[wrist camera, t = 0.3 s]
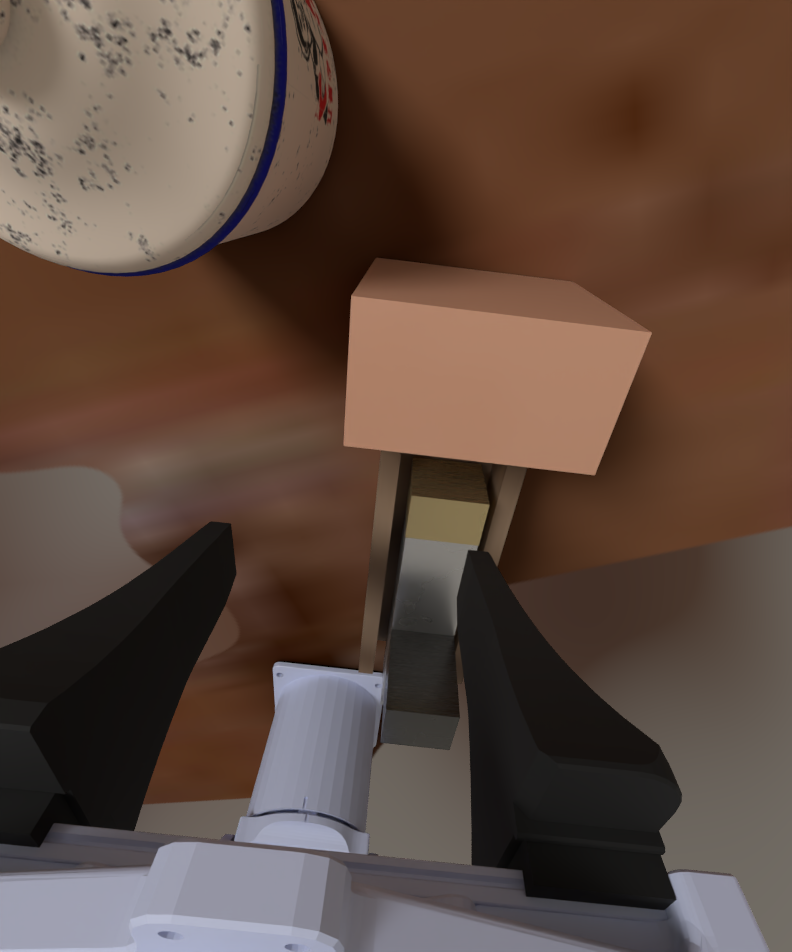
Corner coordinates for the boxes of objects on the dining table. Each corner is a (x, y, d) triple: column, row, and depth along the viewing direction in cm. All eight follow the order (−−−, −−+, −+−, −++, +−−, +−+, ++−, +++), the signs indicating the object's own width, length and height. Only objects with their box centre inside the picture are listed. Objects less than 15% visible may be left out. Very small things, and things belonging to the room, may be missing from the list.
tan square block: (542, 386, 21) (594, 475, 15) (367, 365, 21) (343, 445, 14) (573, 281, 19) (651, 332, 12) (376, 257, 19) (350, 295, 12)
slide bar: (433, 662, 28) (436, 791, 22) (383, 656, 28) (373, 784, 22) (481, 464, 20) (505, 578, 14) (413, 456, 20) (408, 568, 14)
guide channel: (456, 619, 30) (461, 683, 26) (366, 609, 29) (358, 672, 26) (513, 404, 22) (532, 451, 18) (389, 389, 21) (382, 433, 18)
